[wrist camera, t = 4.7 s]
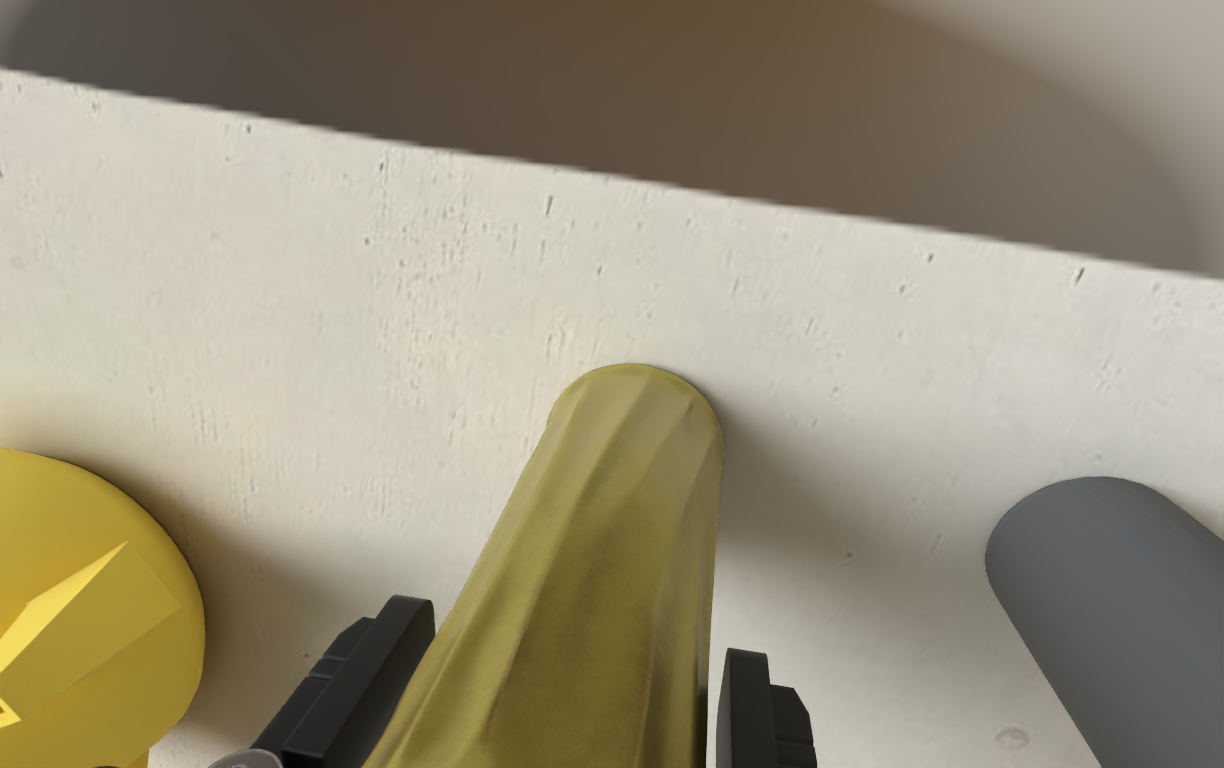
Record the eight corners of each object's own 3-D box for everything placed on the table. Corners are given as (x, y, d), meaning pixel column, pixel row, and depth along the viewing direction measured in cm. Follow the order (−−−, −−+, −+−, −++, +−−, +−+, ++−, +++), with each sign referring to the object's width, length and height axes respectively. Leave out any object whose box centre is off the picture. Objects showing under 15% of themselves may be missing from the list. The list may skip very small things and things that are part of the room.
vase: (726, 522, 22) (741, 1102, 8) (558, 521, 23) (339, 1031, 10) (720, 357, 20) (726, 783, 6) (535, 364, 21) (216, 742, 7)
